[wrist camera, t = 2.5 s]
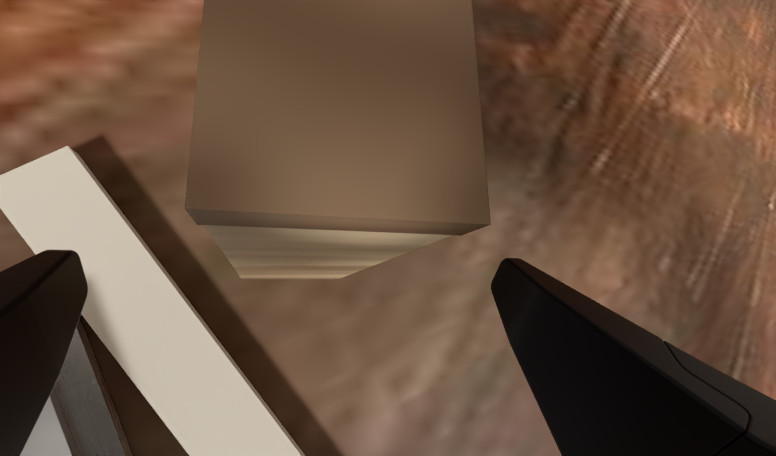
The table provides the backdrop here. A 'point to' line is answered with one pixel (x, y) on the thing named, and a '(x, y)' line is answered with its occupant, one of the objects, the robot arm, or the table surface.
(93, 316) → the door edge strip
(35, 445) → the keeper
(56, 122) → the table surface
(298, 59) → the block
